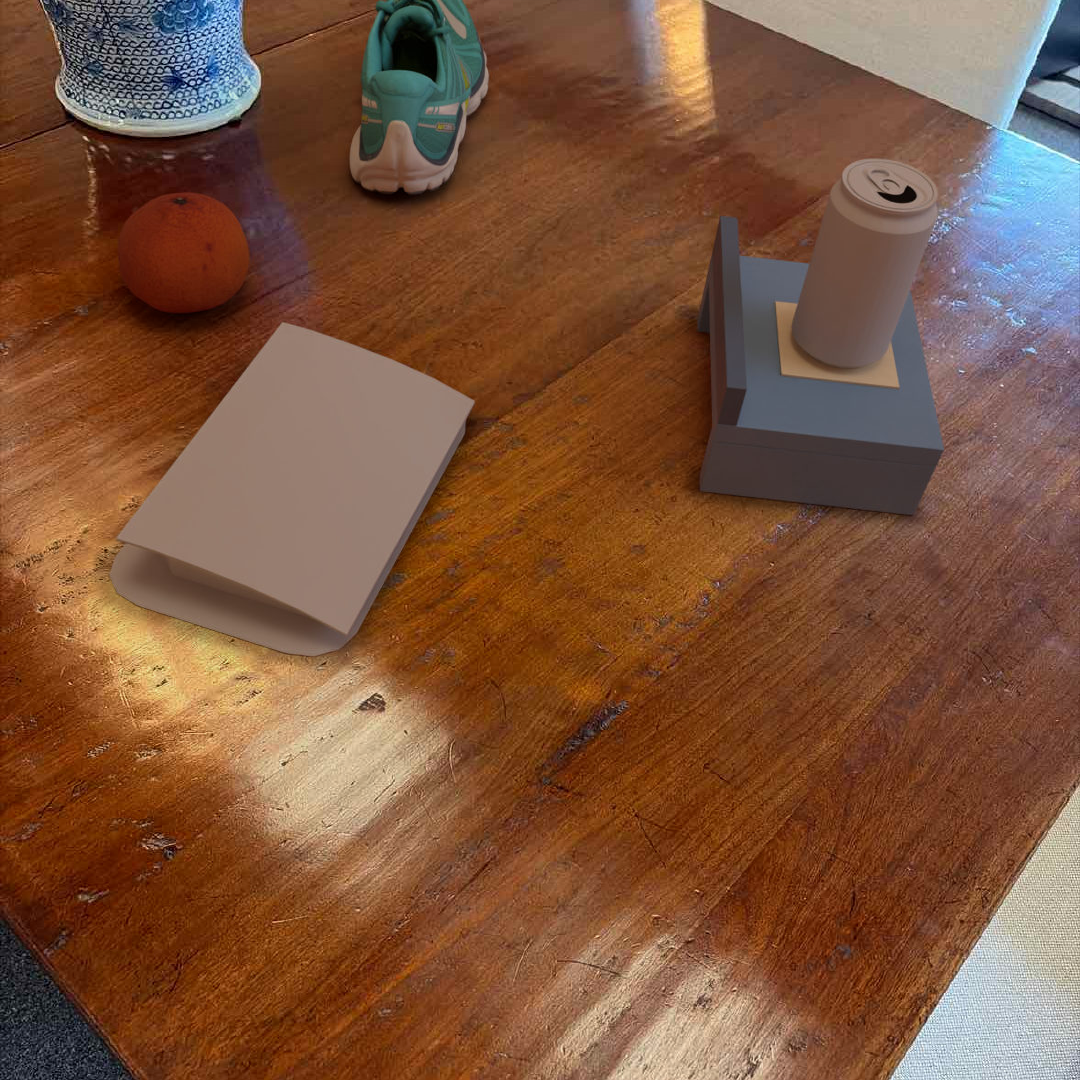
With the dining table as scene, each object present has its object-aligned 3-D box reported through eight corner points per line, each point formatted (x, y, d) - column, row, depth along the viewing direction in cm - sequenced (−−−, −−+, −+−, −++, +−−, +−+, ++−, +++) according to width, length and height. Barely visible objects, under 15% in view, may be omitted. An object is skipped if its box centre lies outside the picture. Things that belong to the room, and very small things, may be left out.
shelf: (882, 340, 89) (921, 238, 83) (913, 516, 77) (961, 413, 71) (697, 319, 89) (720, 215, 82) (699, 491, 77) (726, 386, 70)
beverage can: (822, 384, 76) (877, 222, 67) (770, 323, 79) (815, 162, 70) (904, 363, 78) (968, 203, 69) (849, 305, 81) (903, 146, 72)
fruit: (229, 248, 90) (216, 153, 84) (269, 317, 85) (258, 220, 79) (111, 274, 87) (89, 176, 81) (145, 347, 82) (124, 249, 76)
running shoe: (490, 46, 115) (496, -79, 106) (482, 215, 96) (489, 81, 87) (373, 37, 114) (370, -89, 106) (343, 206, 95) (336, 69, 87)
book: (90, 590, 68) (75, 545, 65) (272, 350, 83) (267, 305, 80) (338, 670, 66) (334, 627, 63) (479, 409, 81) (482, 364, 78)
